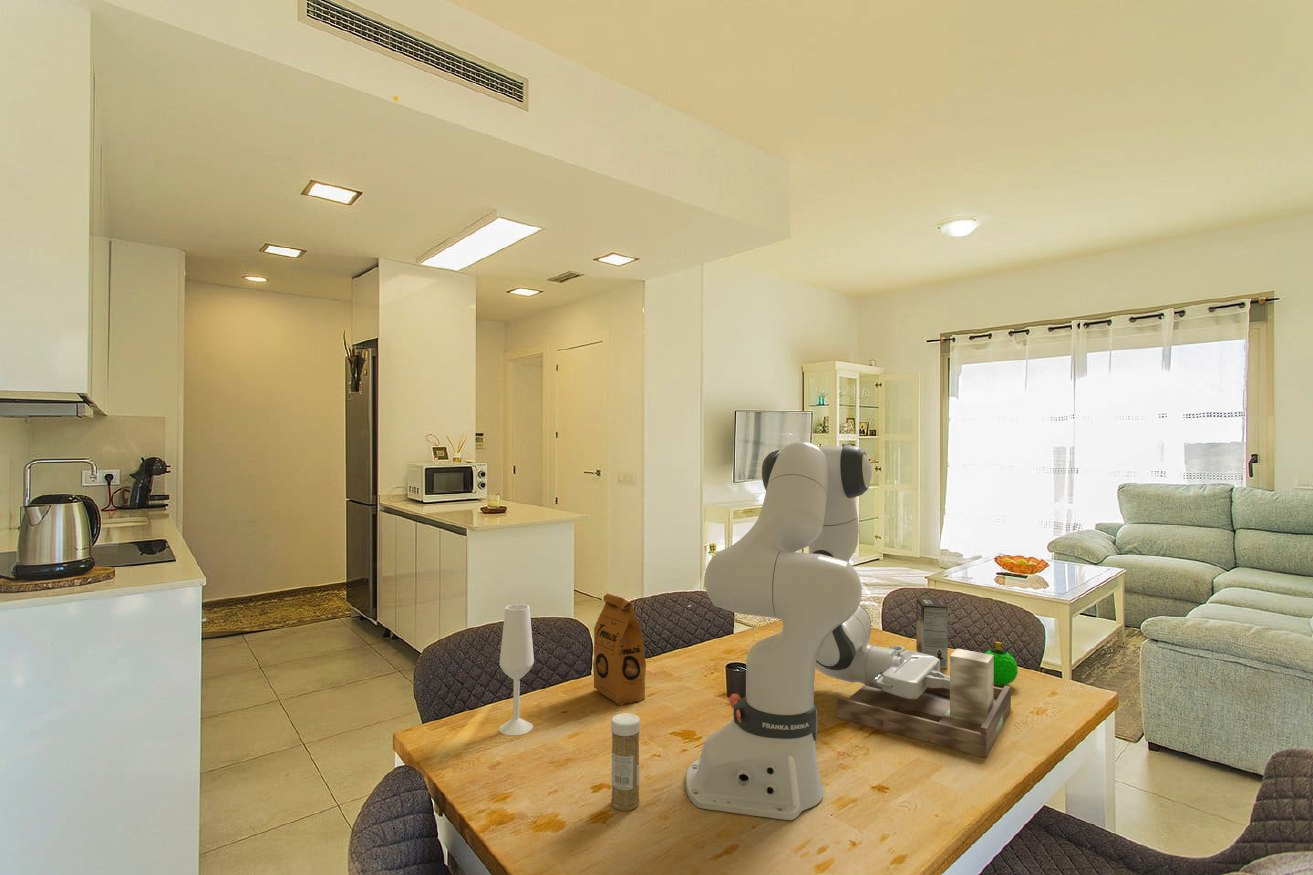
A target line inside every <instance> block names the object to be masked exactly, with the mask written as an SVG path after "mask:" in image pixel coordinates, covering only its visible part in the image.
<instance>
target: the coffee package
mask: <svg viewBox="0 0 1313 875" xmlns="http://www.w3.org/2000/svg"><path fill="white" fill-rule="evenodd" d="M602 600H603V601H605V604H604V606H603V608H602V610H601V612H600V614H599V616H598V618H597V621H596V623H595V626H594V628H593V629H594V630H593V635H594V636H593V638H594V640H593V641H594V642H593V657H594V658H593V663H592V667H593V669H592V671H593V689H596V690H597V691H598V692H600V693H601V694H602V695H604V696H605V697H606V698H608V699H609V700H611V701H612V702H613V703H615V704H616V705H618V706H622V705H624V704H631V703H637V702H641V701H644V700H645V699H646V671H647V670H646V669H647V664H646V655H645V654H646V653H645V645H644V635H643V633H642V630H641V625H640V623H639V621H638V618H637V614H636V612H635V610H634V606H633V604H632V602H631V601H629V600H627V599H625V598H624V597H621V596H618V595H614V594H613V593H612V594H611V593H608V592H607V593H606V594H605V595H603V599H602Z"/></svg>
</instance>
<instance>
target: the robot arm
mask: <svg viewBox="0 0 1313 875" xmlns="http://www.w3.org/2000/svg"><path fill="white" fill-rule="evenodd" d="M870 462H871V461H870V460H869V458H868V455H867V453H866V452H865V450H863V449H862V448H861V447H860V446H856V445H847V444H845V445H843V446H839V445H838V446H835V445H834V446H833V445H820V446H819V445H817V446H816V445H814V444H813V443H810V442H806V441H796V442H791V443H789V444H788V445H786V446H784V448H783V447H782V449H778V450H777V449H776V450H774V451H772V452H769V453H768V454H767V455H766V457H765V458H764V460H763V461H762V466H761V478H762V479H761V480H762V484H763V488H764V490H765V494H764V498H763V502H762V505H761V509H760V511H759V515H758V517H757V520H756V521H755V523H754V524H753V525H752V527H751V528H750V529H749V531H747V533H746V534H744V535H743V536H742V537H741V538H740V539H739V540H737V541H736V542H734V544H732V545H730V546H728V547H726V548H724V549H721V550H719V551H717V552H716V553H715V554H714V555H713V556H712V558H711V559H710V560H709V561H708V564H707V566H706V569H705V572H704V588H705V591H706V594H707V596H708V599H709V600H710V601H711V603H712V604H713V605H714V606H715V607H718V608H719V609H724V610H726V611H730V612H732V613H736V614H739V615H746V616H755V617H763V618H773V619H778V620H781V621H782V629H781V631H780V632H778V633H776V634H774V635H771V636H768V637H766V638H763V639H762V640H759V641H757V642H756V643H755V644H753V645H752V646H751V648H750V649H749V651H748V653H747V655H746V659H745V663H746V664H745V667H746V668H745V696H744V697H742V698H741V696H740V695H739V694H738V693H732V694H730V696H729V699H728V700H729V701H728V702H729V705H730V707H731V708H732V709H733V712H732V713H733V720H731V721H729V722H727V724H725V725H724V726H722V727H721V728H719V729H718V730H716V731H715V732H713V733H711V734H710V735H709V736H708V737H707V738H706V739H705V741H704V743H703V746H702V748H701V753H700V756H699V759H697V760H695V761H693V762H692V763H691V764H690V765H689V766H688V769H687V772H686V777H685V790H686V793H687V797H688V798H689V799H690V801H691V802H692V803H693V804H694V805H695V807H697V808H699V809H705V810H711V811H719V812H725V813H726V812H727V813H732V814H741V815H746V816H747V815H748V816H754V817H755V816H756V817H761V818H762V817H763V818H770V819H776V820H777V819H778V820H783V821H784V820H785V821H792V820H795V819H797V818H798V817H799V815H800V814H801V813H802V812H804V811H805V810H808V809H811V808H812V807H815V806H816V805H818V804H819V803H820V802H821V801H822V799H823V797H824V795H825V794H824V793H825V792H824V788H823V784H822V779H821V776H820V771H819V767H818V766H819V765H818V759H817V751H816V742H815V741H816V740H817V733H818V711H817V705H816V704H815V700H814V699H815V692H814V691H815V676H816V675H815V674H816V669H817V671H819V672H820V673H822V674H823V675H826V676H828V677H830V678H833V679H837V680H840V681H844V682H849V683H861V684H863V685H867V686H869V687H873V688H878V689H882V690H884V691H885V692H887V693H890V694H893V695H896V696H900V697H903V698H907V699H917V698H918V697H919V696H920V695H921V694H922V693H923V692H924V691H925V690H926V688H927V687H930V688H946V689H950V675H946V674H944V673H942V672H941V668H940V659H938V658H936V657H934V656H931V655H927V654H923V653H919V652H916V650H915V651H914V650H908V649H907V650H905V647H903V646H900V645H894V646H889V647H884V646H882V647H881V646H877V645H876V646H875V645H872V644H870V638H871V637H870V636H871V628H872V620H871V617H870V615H869V613H868V611H867V610H866V609H865V608H864V607H863V606H861V605H860V604H861V602H862V601H861V600H862V595H863V594H862V593H863V592H862V591H863V590H862V589H863V588H862V583H861V582H862V581H861V579H860V576H859V573H858V572H857V571H856V569H855V568H854V566H853V565H852V564H851V563H850V560H851V558H852V556H853V554H854V553H855V551H856V549H857V546H858V543H859V532H860V530H859V528H860V527H859V524H860V523H859V518H858V517H859V516H858V510H857V504H856V501H855V498H857V497H860V496H862V495H863V494H865V493H866V492H867V491H868V490H869V487H870V482H871V480H872V474H873V473H872V465H871V463H870ZM805 548H808V552H798V551H800V550H803V549H805Z"/></svg>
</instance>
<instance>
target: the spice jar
mask: <svg viewBox="0 0 1313 875" xmlns="http://www.w3.org/2000/svg"><path fill="white" fill-rule="evenodd" d="M610 724H611V725H610V727H611V729H610V731H611V735H612V737H611V739H612V740H611V741H612V742H611V747H612V748H611V801H610V803H611V806H612V807H613V808H614V809H615V810H619V811H622V812H623V811H624V812H625V811H627V812H628V811H632V810H634V809H636V808H637V807H639V804H640V788H639V787H640V731H641V719H640V717H639V716H638V715H636V714H634V713H630V712H629V713H627V712H625V713H624V712H623V713H619V714H615V715H614V716H613V717H612V718H611V723H610Z"/></svg>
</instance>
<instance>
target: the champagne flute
mask: <svg viewBox="0 0 1313 875" xmlns="http://www.w3.org/2000/svg"><path fill="white" fill-rule="evenodd" d="M530 607H531V606H530V605H528V604H524V603H516V604H510V605H506V606H505V608H504V617H503V626H502V637H501V644H500V656H499V667H500V668H501V670H502V672H503V673H504V674H505V675H506V676H507V677H509V678H510V679H512V680H513V691H512V692H513V695H512V697H513V702H512V704H513V708H512V718H511V719H510V720H507V721H506V722H504V723H503V724H501V725H500V726H499V728H498V731H499V732H500V734H503V735H505V736H520V735H524V734H528V733H529V732H531V731H532V730H533V729H534V725H533V724H532V723H531V722H529V721H527V720H525V719H523V718H520V684H521V683H520V680H521V679H522V678H523V677H524V676H525V675H527V673H528V672H530V670H531V669H532V667H533V665H534V662H535V658H534V644H533V633H532V621H531V610H530V609H531V608H530Z"/></svg>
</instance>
